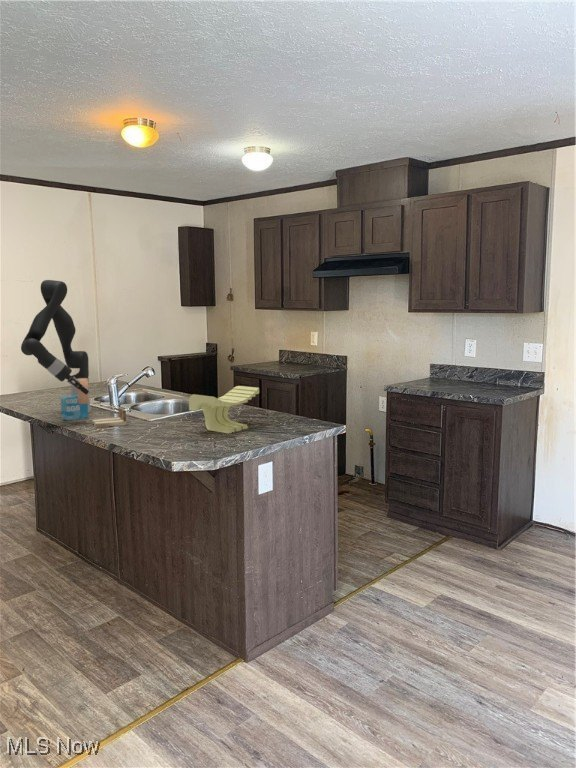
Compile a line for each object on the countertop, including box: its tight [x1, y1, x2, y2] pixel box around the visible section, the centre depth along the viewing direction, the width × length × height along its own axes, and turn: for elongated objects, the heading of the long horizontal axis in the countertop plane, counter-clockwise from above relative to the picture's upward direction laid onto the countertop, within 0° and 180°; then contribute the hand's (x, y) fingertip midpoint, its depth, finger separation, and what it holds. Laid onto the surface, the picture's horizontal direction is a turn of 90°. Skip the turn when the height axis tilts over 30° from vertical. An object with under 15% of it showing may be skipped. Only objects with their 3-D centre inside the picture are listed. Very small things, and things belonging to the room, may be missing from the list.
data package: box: [60, 395, 89, 422], centre depth 299 cm, size 12×4×12 cm, turn 133°
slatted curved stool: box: [188, 385, 260, 434], centre depth 271 cm, size 30×16×18 cm, turn 143°
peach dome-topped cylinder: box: [77, 377, 90, 404], centre depth 288 cm, size 5×5×12 cm
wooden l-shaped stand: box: [92, 406, 127, 429], centre depth 285 cm, size 12×14×7 cm
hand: (86, 392), depth 289 cm, fingers closed on peach dome-topped cylinder, 5 cm apart
